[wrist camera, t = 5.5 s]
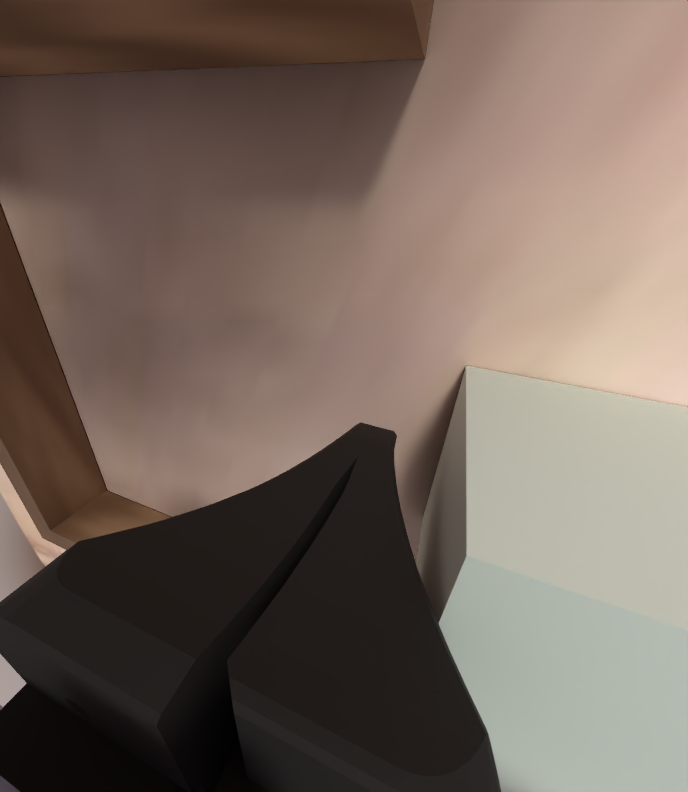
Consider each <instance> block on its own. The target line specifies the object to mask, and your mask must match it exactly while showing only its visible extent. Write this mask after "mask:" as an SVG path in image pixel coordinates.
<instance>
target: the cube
mask: <svg viewBox="0 0 688 792" xmlns="http://www.w3.org/2000/svg"><path fill="white" fill-rule="evenodd" d="M416 566H417V569H418V571H419V574H420V577H421V579H422V582H423V585H424V588H425V590H426V593H427V596H428V598H429V601H430V604H431V606H432V609H433V612H434V614H435V617H436V619H437V621H438V624H439V626H440V629H441V631H442V633H443V636H444V638H445V640H446V643H447V645H448V647H449V650H450V652H451V654H452V657H453V659H454V661H455V663H456V665H457V668H458V670H459V672H460V674H461V676H462V678H463V681H464V683H465V685H466V687H467V689H468V691H469V693H470V696H471V698H472V700H473V702H474V704H475V706H476V708H477V710H478V712H479V714H480V716H481V718H482V721H483V723H484V725H485V727H486V729H487V732H488V734H489V738H490V742H491V747H492V751H493V755H494V760H495V764H496V769H497V773H498V778H499V782H500V788H501V792H688V407H684V406H679V405H674V404H668V403H663V402H658V401H652V400H647V399H642V398H636V397H631V396H626V395H620V394H615V393H610V392H605V391H599V390H594V389H589V388H583V387H578V386H573V385H567V384H562V383H557V382H551V381H546V380H541V379H535V378H530V377H525V376H520V375H514V374H509V373H504V372H498V371H493V370H488V369H482V368H477V367H472V366H466V368H465V371H464V375H463V378H462V382H461V385H460V389H459V392H458V396H457V399H456V403H455V407H454V410H453V414H452V417H451V421H450V424H449V428H448V431H447V435H446V438H445V442H444V445H443V449H442V452H441V456H440V459H439V463H438V466H437V470H436V473H435V477H434V480H433V484H432V488H431V491H430V495H429V498H428V502H427V505H426V509H425V512H424V516H423V519H422V526H421V532H420V539H419V545H418V552H417V558H416Z"/></svg>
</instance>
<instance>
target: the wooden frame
mask: <svg viewBox="0 0 688 792" xmlns="http://www.w3.org/2000/svg"><path fill="white" fill-rule="evenodd" d="M433 2H434V0H0V76H22V75H46V74H70V73H95V72H119V71H143V70H168V69H192V68H216V67H240V66H265V65H289V64H313V63H338V62H362V61H386V60H410V59H425V55H426V48H427V42H428V35H429V29H430V22H431V15H432V9H433ZM0 463H1V465H2V467H3V469H4V470H5V472H6V474H7V476H8V478H9V479H10V481H11V483H12V485H13V486H14V488H15V490H16V492H17V494H18V495H19V497H20V499H21V501H22V502H23V504H24V506H25V508H26V509H27V511H28V513H29V515H30V517H31V518H32V520H33V522H34V524H35V525H36V527H37V529H38V531H39V533H40V534H41V536H42V538H44V539H46V540H48V541H50V542H52V543H54V544H56V545H58V546H60V547H62V548H64V549H66V550H68V549H69V548H70V547H72V546H73V545H74V544H76V543H77V542H78V541H81V540H85V539H90V538H95V537H99V536H103V535H107V534H111V533H115V532H119V531H123V530H127V529H131V528H135V527H139V526H143V525H147V524H151V523H154V522H158V521H161V520H165V519H168V518H171V517H170V516H167V515H165V514H162V513H160V512H157V511H155V510H153V509H150V508H148V507H145V506H143V505H140V504H138V503H136V502H133V501H131V500H128V499H126V498H123V497H121V496H118V495H116V494H114V493H111V492H109V491H107V490H106V487H105V484H104V482H103V479H102V476H101V474H100V471H99V468H98V466H97V463H96V460H95V458H94V455H93V452H92V450H91V447H90V444H89V442H88V439H87V436H86V434H85V431H84V428H83V426H82V423H81V420H80V418H79V415H78V412H77V410H76V407H75V404H74V402H73V399H72V396H71V394H70V391H69V388H68V386H67V383H66V380H65V378H64V375H63V372H62V370H61V367H60V364H59V362H58V359H57V356H56V354H55V351H54V348H53V346H52V343H51V340H50V338H49V335H48V332H47V330H46V327H45V324H44V322H43V319H42V316H41V314H40V311H39V308H38V306H37V303H36V300H35V298H34V295H33V292H32V290H31V287H30V284H29V282H28V279H27V276H26V274H25V271H24V268H23V266H22V263H21V260H20V258H19V255H18V252H17V250H16V247H15V244H14V242H13V239H12V236H11V234H10V231H9V228H8V226H7V223H6V220H5V218H4V215H3V212H2V210H1V207H0Z"/></svg>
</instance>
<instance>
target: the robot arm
mask: <svg viewBox="0 0 688 792" xmlns="http://www.w3.org/2000/svg"><path fill="white" fill-rule="evenodd" d="M396 438H397V435H396V434H395V432H394V431H391V430H387V429H383V428H379V427H375V426H372V425H368V424H364V423H359V424H357V425H356V426H354V427H353V428H352V429H350V430H349V431H348V432H346V433H345V434H344V435H342V436H341V437H340V438H338V439H337V440H335V441H334V442H333V443H331V444H330V445H328V446H327V447H325V448H324V449H322V450H321V451H319V452H318V453H316V454H315V455H313V456H312V457H310V458H308V459H307V460H305V461H303V462H302V463H300V464H298V465H296V466H295V467H293V468H291V469H290V470H288V471H286V472H284V473H282V474H281V475H279V476H277V477H275V478H273V479H271V480H269V481H267V482H265V483H263V484H260V485H258V486H256V487H254V488H252V489H249V490H247V491H245V492H242V493H239V494H237V495H234V496H232V497H229V498H227V499H224V500H222V501H219V502H217V503H214V504H211V505H208V506H206V507H203V508H200V509H197V510H194V511H191V512H188V513H184V514H181V515H178V516H175V517H171V518H168V519H165V520H161V521H158V522H154V523H151V524H147V525H143V526H139V527H135V528H131V529H127V530H123V531H119V532H115V533H111V534H107V535H103V536H99V537H95V538H90V539H85V540H81V541H78V542H77V543H76V544H74V545H73V546H72V547H70V548H69V549H68V550H66V551H65V552H64V553H62V554H61V555H60V556H59V557H57V558H56V559H55V560H54V561H52V562H51V563H50V564H48V565H47V566H46V567H45V568H43V569H42V570H41V571H39V572H38V573H37V574H36V575H34V576H33V577H32V578H30V579H29V580H28V581H27V582H25V583H24V584H23V585H21V586H20V587H19V588H18V589H17V590H15V591H14V592H13V593H11V594H10V595H9V596H7V597H6V598H5V599H4V600H2V601H1V602H0V654H1V655H2V656H3V657H4V658H5V659H6V660H7V661H8V663H9V664H10V665H11V666H12V667H13V668H14V669H15V670H16V672H17V673H18V674H19V675H20V676H21V677H22V678H23V679H24V680H25V682H26V683H27V684H26V685H25V686H24V687H23V688H22V689H21V690H20V691H19V692H18V693H17V694H16V695H15V696H14V697H13V698H12V699H11V700H10V701H9V702H8V703H7V704H6V705H5V706H4V707H2V706H1V705H0V792H501V788H500V782H499V778H498V773H497V769H496V764H495V760H494V755H493V751H492V747H491V742H490V738H489V734H488V732H487V729H486V727H485V725H484V723H483V721H482V718H481V716H480V714H479V712H478V710H477V708H476V706H475V704H474V702H473V700H472V698H471V696H470V693H469V691H468V689H467V687H466V685H465V683H464V681H463V678H462V676H461V674H460V672H459V670H458V668H457V665H456V663H455V661H454V659H453V657H452V654H451V652H450V650H449V647H448V645H447V643H446V640H445V638H444V636H443V633H442V631H441V629H440V626H439V624H438V621H437V619H436V617H435V614H434V612H433V609H432V606H431V604H430V601H429V598H428V596H427V593H426V590H425V588H424V585H423V582H422V579H421V577H420V574H419V571H418V569H417V566H416V563H415V559H414V556H413V553H412V550H411V547H410V543H409V540H408V536H407V533H406V529H405V525H404V521H403V517H402V512H401V508H400V502H399V497H398V492H397V485H396V476H395V467H394V447H395V443H396Z"/></svg>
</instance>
